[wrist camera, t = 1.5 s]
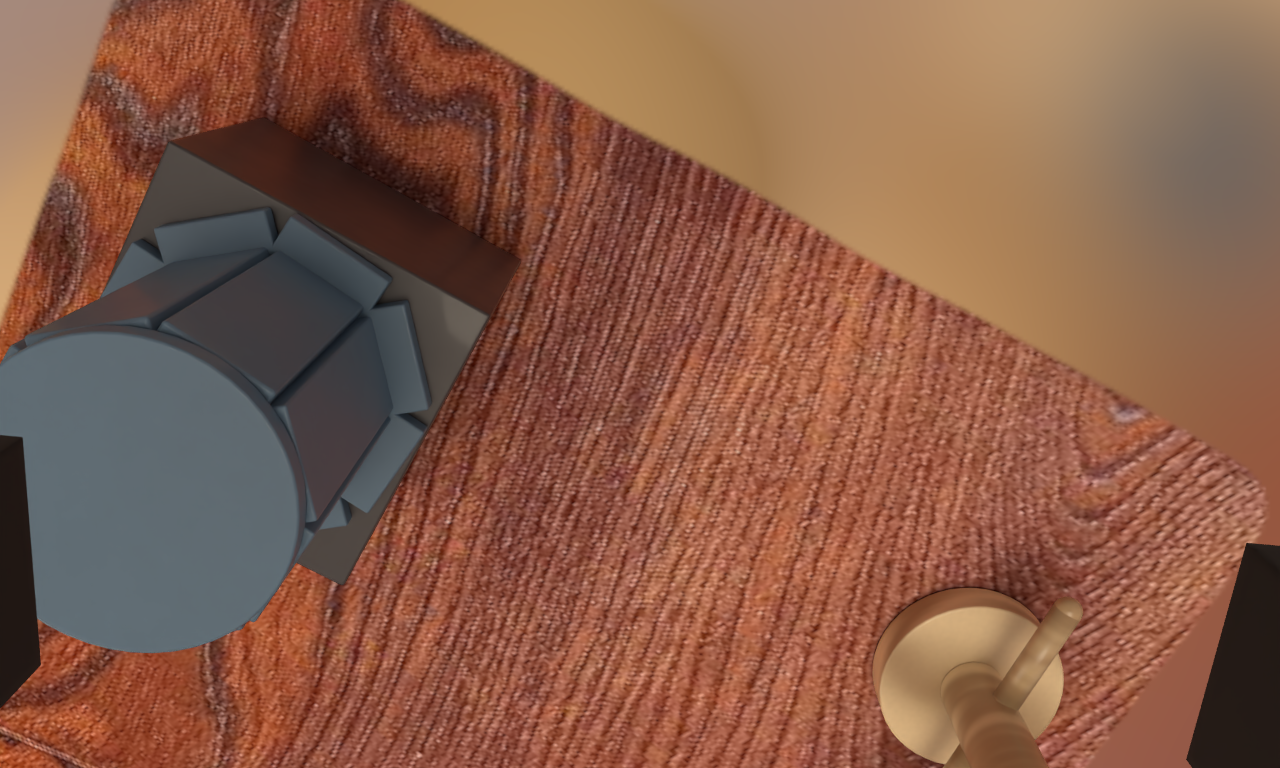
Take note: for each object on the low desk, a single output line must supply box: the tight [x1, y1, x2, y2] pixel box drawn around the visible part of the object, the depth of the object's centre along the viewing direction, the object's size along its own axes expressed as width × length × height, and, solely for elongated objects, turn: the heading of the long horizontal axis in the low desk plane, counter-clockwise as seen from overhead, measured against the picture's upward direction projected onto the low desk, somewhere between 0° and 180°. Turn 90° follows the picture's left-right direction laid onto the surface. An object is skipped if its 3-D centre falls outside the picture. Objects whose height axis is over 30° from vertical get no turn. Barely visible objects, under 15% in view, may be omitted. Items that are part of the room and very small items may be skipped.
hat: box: [0, 207, 432, 653], centre depth 29 cm, size 10×10×9 cm
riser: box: [103, 118, 521, 585], centre depth 37 cm, size 10×10×8 cm
